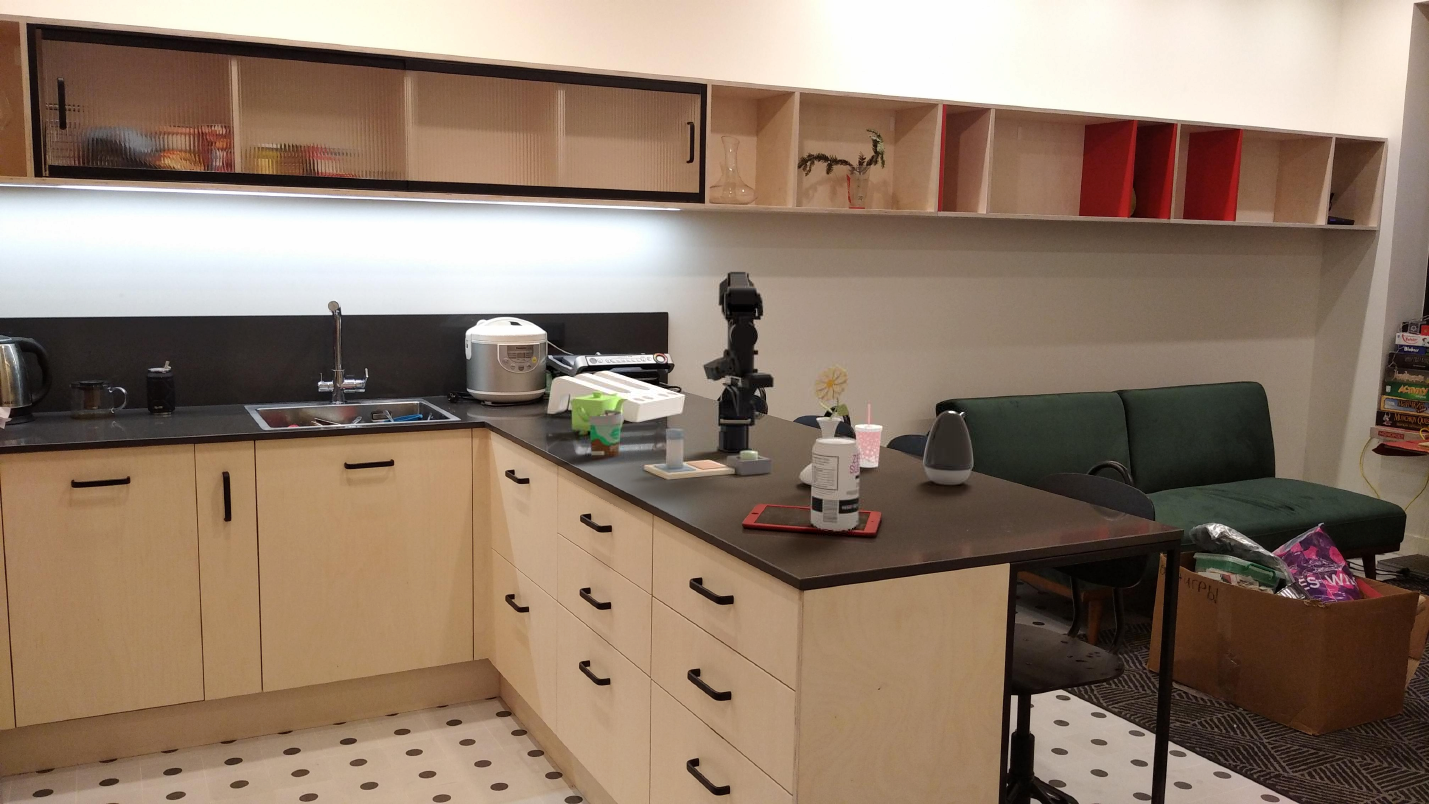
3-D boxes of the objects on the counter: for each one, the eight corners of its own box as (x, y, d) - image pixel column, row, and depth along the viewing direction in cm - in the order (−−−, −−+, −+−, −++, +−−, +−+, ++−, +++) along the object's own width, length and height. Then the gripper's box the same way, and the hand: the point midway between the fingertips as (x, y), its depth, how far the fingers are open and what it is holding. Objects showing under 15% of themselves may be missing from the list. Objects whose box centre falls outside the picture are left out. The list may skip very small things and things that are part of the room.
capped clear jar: (679, 465, 236) (679, 428, 235) (686, 468, 233) (686, 430, 232) (663, 466, 234) (663, 428, 234) (670, 469, 231) (670, 431, 230)
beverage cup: (880, 468, 241) (882, 406, 240) (853, 467, 243) (854, 405, 241) (882, 463, 247) (883, 403, 246) (855, 462, 248) (856, 402, 247)
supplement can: (806, 520, 191) (808, 436, 189) (852, 520, 192) (855, 436, 190) (814, 532, 183) (816, 444, 181) (862, 531, 184) (865, 444, 182)
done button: (752, 465, 239) (752, 450, 238) (760, 468, 236) (760, 452, 235) (736, 467, 237) (737, 451, 237) (745, 470, 234) (745, 454, 233)
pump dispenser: (982, 482, 227) (985, 410, 225) (955, 489, 219) (958, 415, 217) (940, 475, 234) (943, 406, 232) (912, 482, 226) (915, 410, 224)
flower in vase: (789, 482, 225) (792, 362, 222) (838, 478, 229) (841, 361, 226) (818, 494, 213) (821, 368, 210) (869, 490, 217) (872, 366, 214)
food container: (615, 460, 248) (615, 417, 247) (589, 459, 249) (589, 416, 248) (629, 451, 260) (630, 410, 259) (605, 450, 261) (605, 409, 260)
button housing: (754, 467, 241) (754, 454, 241) (770, 472, 235) (770, 459, 235) (727, 469, 238) (727, 456, 238) (742, 475, 232) (742, 461, 231)
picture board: (709, 464, 244) (709, 459, 244) (734, 473, 234) (734, 468, 234) (644, 469, 237) (644, 464, 237) (667, 479, 226) (667, 473, 226)
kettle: (617, 428, 297) (617, 387, 295) (632, 436, 284) (632, 393, 282) (563, 430, 291) (563, 389, 290) (576, 438, 278) (576, 395, 277)
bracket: (639, 403, 307) (552, 375, 322) (633, 443, 310) (547, 413, 325) (685, 395, 328) (601, 368, 343) (678, 433, 330) (595, 405, 345)
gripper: (689, 342, 241) (688, 411, 243) (729, 350, 225) (728, 424, 227) (733, 341, 246) (732, 408, 249) (775, 348, 230) (774, 421, 232)
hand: (740, 415), depth 239 cm, fingers closed
